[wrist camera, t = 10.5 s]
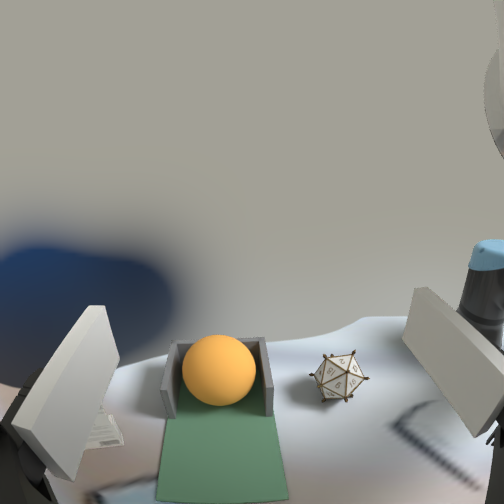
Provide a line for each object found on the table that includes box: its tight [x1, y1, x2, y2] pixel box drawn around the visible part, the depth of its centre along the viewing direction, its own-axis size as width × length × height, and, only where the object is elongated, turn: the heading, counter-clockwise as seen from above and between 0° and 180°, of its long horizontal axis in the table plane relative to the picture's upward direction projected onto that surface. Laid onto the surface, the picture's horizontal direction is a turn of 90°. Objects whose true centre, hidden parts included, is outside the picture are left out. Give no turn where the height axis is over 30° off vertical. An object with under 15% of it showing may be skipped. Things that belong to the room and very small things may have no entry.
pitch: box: [156, 337, 289, 504], centre depth 38 cm, size 16×27×7 cm, turn 4°
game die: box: [309, 350, 370, 402], centre depth 43 cm, size 9×8×10 cm
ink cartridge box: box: [85, 404, 124, 450], centre depth 31 cm, size 2×11×10 cm, turn 113°
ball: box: [182, 335, 256, 406], centre depth 43 cm, size 11×11×11 cm
